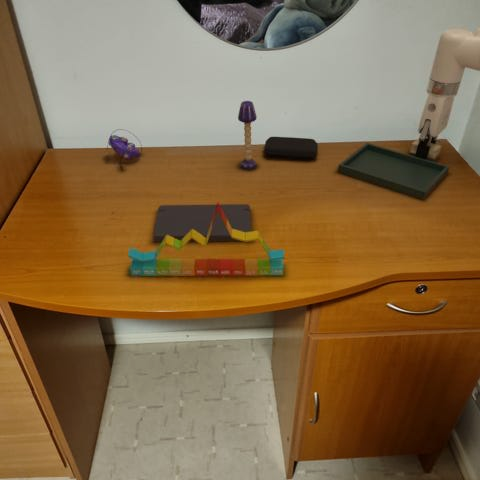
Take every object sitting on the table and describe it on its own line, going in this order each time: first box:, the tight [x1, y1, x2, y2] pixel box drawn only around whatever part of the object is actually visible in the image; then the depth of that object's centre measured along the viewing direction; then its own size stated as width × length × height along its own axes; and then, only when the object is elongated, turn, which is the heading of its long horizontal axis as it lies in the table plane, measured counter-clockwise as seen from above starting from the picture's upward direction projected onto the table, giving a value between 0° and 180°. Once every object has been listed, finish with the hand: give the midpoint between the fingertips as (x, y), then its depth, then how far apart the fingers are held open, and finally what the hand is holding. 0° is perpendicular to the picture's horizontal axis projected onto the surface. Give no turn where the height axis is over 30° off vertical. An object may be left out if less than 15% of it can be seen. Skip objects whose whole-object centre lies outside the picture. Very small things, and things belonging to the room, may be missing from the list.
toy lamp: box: [237, 100, 258, 171], centre depth 124 cm, size 5×5×17 cm
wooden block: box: [408, 138, 442, 162], centre depth 133 cm, size 7×4×4 cm, turn 53°
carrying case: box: [263, 136, 319, 161], centre depth 135 cm, size 11×3×15 cm
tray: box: [337, 142, 450, 201], centre depth 126 cm, size 24×17×2 cm
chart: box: [127, 201, 285, 277], centre depth 92 cm, size 30×3×15 cm, turn 90°
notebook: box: [153, 203, 253, 243], centre depth 109 cm, size 13×2×21 cm
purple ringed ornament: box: [105, 128, 143, 171], centre depth 131 cm, size 10×8×10 cm
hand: (423, 155), depth 134 cm, fingers closed on wooden block, 3 cm apart
